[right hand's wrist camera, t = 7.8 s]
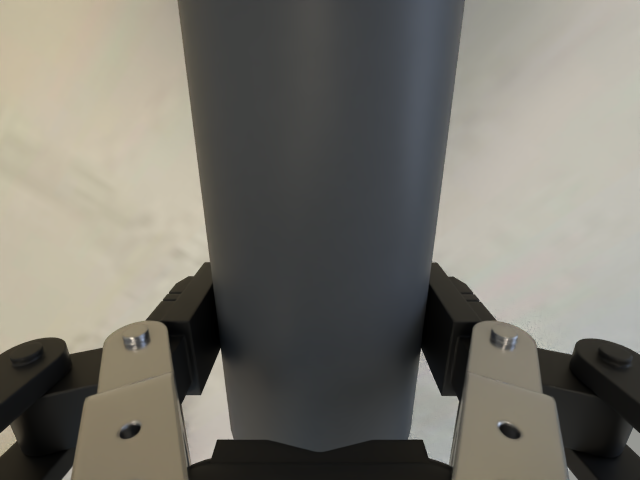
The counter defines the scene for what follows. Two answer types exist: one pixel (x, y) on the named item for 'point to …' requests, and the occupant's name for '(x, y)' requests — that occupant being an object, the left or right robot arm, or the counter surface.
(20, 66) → the counter surface
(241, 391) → the rod
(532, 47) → the counter surface
